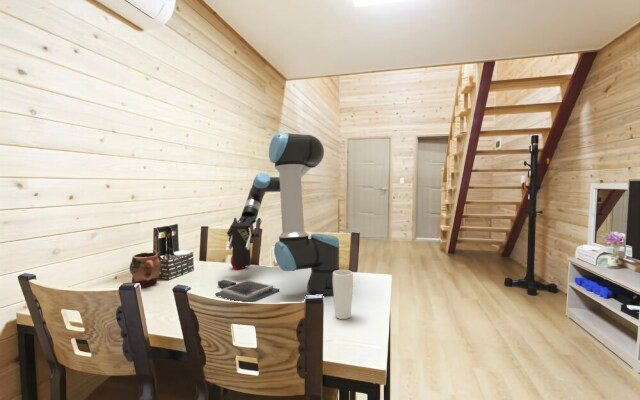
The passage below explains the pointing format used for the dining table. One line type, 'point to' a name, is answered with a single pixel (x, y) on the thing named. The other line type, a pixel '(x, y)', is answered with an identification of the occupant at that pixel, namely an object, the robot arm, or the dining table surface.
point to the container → (240, 244)
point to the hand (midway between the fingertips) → (238, 248)
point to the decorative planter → (145, 269)
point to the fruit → (233, 266)
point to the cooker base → (245, 290)
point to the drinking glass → (342, 293)
